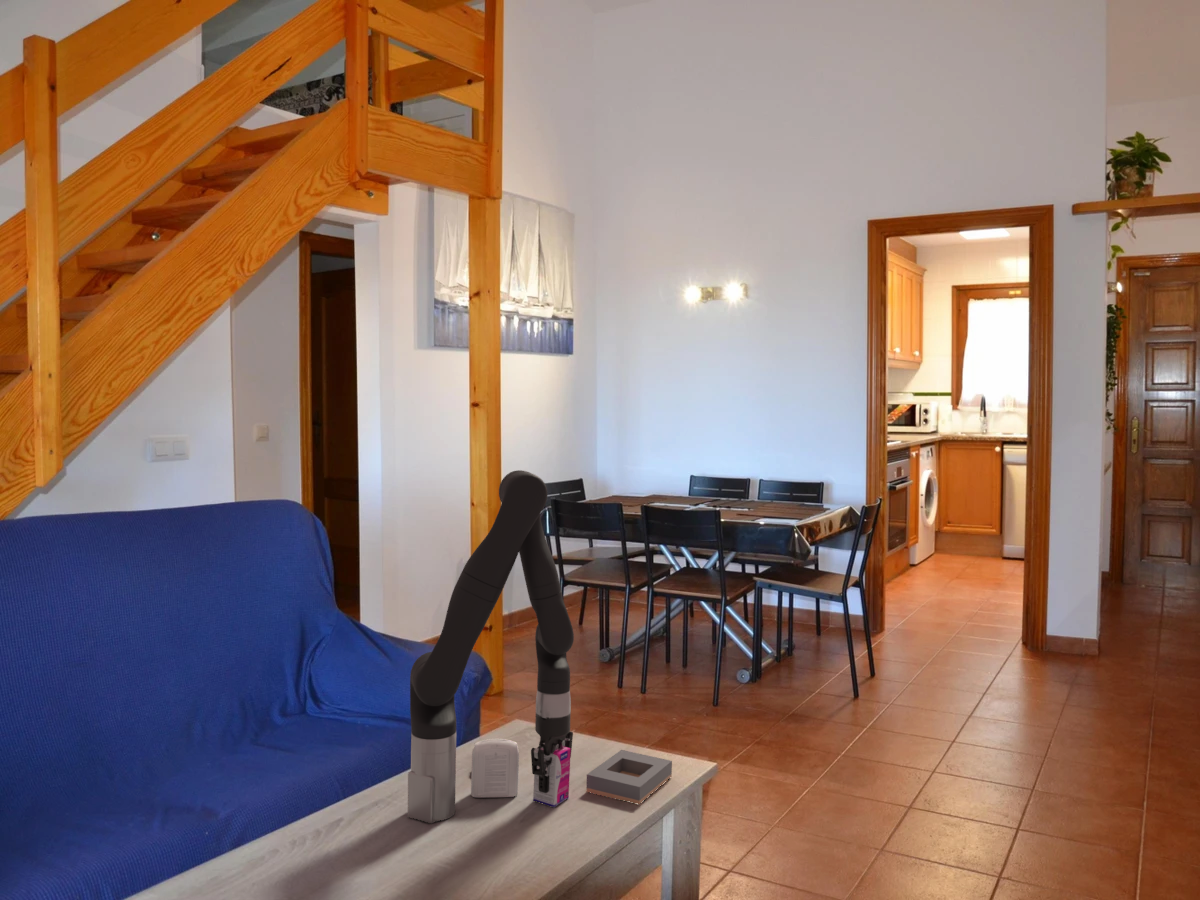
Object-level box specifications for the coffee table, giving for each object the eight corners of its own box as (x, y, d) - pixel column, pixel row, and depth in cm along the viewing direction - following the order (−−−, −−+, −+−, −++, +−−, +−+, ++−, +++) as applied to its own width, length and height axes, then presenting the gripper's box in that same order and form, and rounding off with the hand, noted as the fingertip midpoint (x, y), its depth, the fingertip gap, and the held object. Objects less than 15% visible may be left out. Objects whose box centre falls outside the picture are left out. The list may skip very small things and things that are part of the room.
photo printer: (517, 790, 215) (518, 735, 214) (518, 798, 211) (519, 742, 210) (470, 791, 214) (471, 736, 213) (471, 799, 210) (471, 743, 209)
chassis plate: (639, 805, 209) (639, 787, 208) (586, 792, 215) (586, 774, 215) (671, 777, 224) (671, 760, 223) (621, 766, 230) (621, 749, 230)
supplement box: (555, 808, 206) (556, 755, 206) (532, 801, 209) (533, 749, 209) (570, 798, 211) (571, 747, 210) (547, 792, 214) (548, 741, 214)
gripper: (555, 698, 217) (553, 771, 218) (520, 716, 204) (518, 794, 206) (584, 703, 214) (582, 778, 215) (550, 723, 201) (549, 802, 202)
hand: (551, 786), depth 210 cm, fingers closed on supplement box, 6 cm apart
